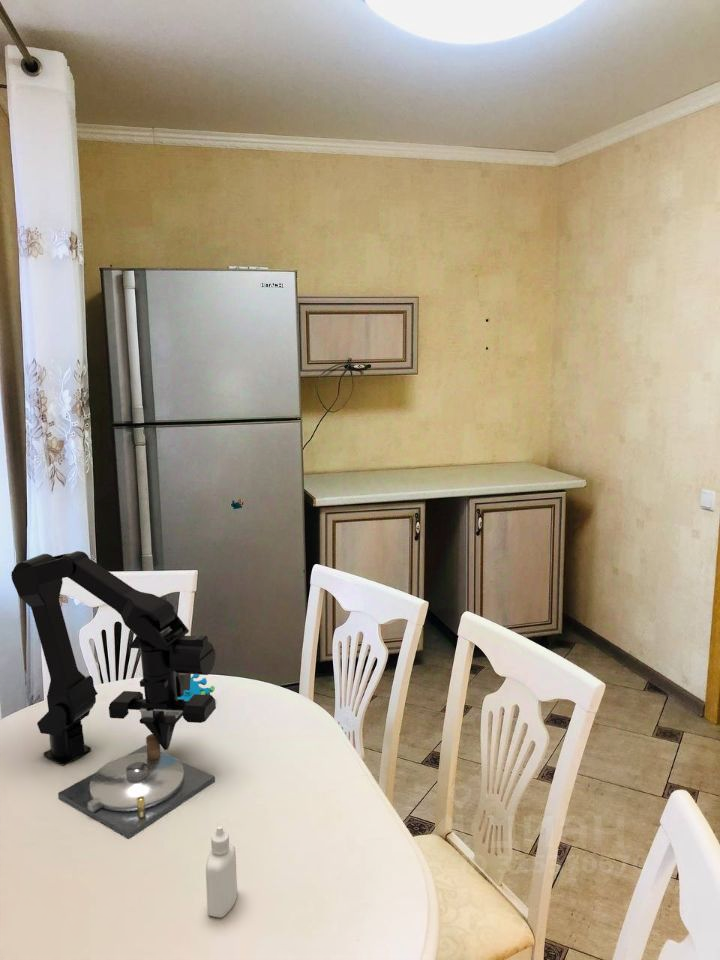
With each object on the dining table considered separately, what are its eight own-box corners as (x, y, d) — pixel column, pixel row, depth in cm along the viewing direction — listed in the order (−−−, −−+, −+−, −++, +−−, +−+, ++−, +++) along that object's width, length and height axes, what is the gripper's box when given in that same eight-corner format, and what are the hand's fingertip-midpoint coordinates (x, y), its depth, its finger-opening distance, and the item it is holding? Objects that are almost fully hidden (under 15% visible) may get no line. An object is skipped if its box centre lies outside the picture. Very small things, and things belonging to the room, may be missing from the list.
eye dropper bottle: (197, 906, 102) (193, 830, 100) (229, 885, 106) (226, 811, 104) (215, 923, 99) (212, 844, 97) (248, 900, 103) (245, 824, 101)
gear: (164, 714, 153) (163, 668, 158) (160, 723, 157) (160, 679, 163) (216, 711, 157) (214, 667, 162) (211, 720, 161) (209, 677, 167)
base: (58, 798, 127) (56, 777, 126) (145, 749, 142) (144, 730, 141) (128, 838, 116) (127, 816, 115) (214, 781, 132) (214, 761, 131)
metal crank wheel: (63, 804, 123) (61, 776, 122) (129, 751, 139) (127, 726, 138) (142, 825, 117) (140, 795, 117) (201, 767, 134) (199, 741, 133)
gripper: (223, 653, 138) (229, 729, 140) (133, 650, 141) (141, 725, 144) (199, 679, 127) (207, 761, 130) (103, 675, 131) (112, 755, 133)
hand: (166, 749), depth 134 cm, fingers closed
